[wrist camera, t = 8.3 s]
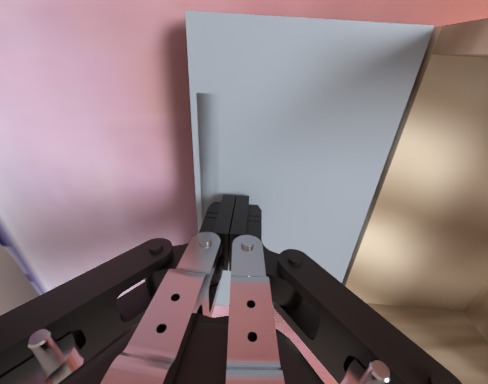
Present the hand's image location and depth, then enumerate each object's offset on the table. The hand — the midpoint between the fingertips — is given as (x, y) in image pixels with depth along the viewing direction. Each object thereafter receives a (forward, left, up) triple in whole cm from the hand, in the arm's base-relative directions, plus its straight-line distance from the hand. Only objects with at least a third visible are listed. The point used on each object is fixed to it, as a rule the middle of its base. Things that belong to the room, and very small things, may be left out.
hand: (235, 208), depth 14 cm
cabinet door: (0, +8, -1) cm, 8 cm away
